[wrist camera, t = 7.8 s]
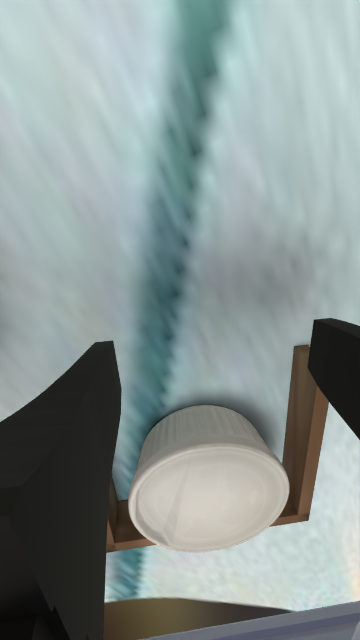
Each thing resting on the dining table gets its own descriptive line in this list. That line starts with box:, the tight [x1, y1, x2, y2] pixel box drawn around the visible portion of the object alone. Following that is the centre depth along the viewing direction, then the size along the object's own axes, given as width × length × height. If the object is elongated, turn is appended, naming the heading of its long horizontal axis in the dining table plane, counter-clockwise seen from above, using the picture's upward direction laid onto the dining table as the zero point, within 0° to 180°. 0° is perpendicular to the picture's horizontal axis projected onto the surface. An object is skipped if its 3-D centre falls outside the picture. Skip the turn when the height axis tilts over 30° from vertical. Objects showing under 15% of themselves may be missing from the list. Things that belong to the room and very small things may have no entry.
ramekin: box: [128, 405, 289, 552], centre depth 24 cm, size 11×11×5 cm
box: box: [106, 345, 329, 553], centre depth 24 cm, size 17×15×4 cm
